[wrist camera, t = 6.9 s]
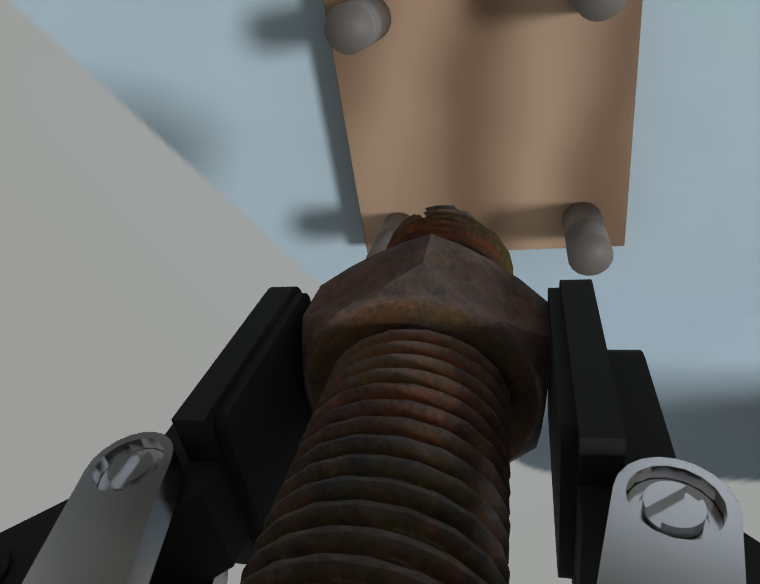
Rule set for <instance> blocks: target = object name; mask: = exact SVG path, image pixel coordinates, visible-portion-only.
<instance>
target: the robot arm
mask: <svg viewBox="0 0 760 584" xmlns="http://www.w3.org/2000/svg"><path fill="white" fill-rule="evenodd" d="M310 303H311V301H310V297H309V295H308V294H307V293H302V292H301V290H300V289H299V288H298V287H271V288H269V289H268V290H267V292H266V293H265V294H264V296H263V297H262V298H261V300H260V301H259V303H258V304H257V305H256V307H255V308H254V309H253V311H252V312H251V313H250V315H249V316H248V317H247V319H246V320H245V321H244V323H243V324H242V325H241V327H240V328H239V329H238V331H237V332H236V333H235V335H234V336H233V337H232V339H231V340H230V341H229V343H228V344H227V345H226V347H225V348H224V349H223V351H222V352H221V354H220V355H219V356H218V358H217V359H216V360H215V362H214V363H213V364H212V366H211V367H210V368H209V370H208V371H207V372H206V374H205V375H204V376H203V378H202V379H201V380H200V382H199V383H198V384H197V386H196V387H195V388H194V390H193V391H192V392H191V394H190V395H189V397H188V398H187V399H186V400H185V402H184V403H183V405H182V406H181V407H180V409H179V410H178V411H177V413H176V414H175V415H174V417H173V418H172V422H173V425H172V426H171V427H170V429H169V430H168V431H167V433H166V434H161V433H157V432H142V433H138V434H133V435H130V436H127V437H125V438H123V439H120V440H118V441H116V442H114V443H113V444H111V445H110V446H108V447H106V448H105V449H103V450H102V451H101V452H100V453H99V454H98V455H97V456H96V457H95V458H93V460H92V461H91V462H90V464H89V465H88V467H87V468H86V469H85V471H84V473H83V474H82V476H81V478H80V480H79V482H78V483H77V485H76V487H75V489H74V491H73V492H72V494H71V496H70V498H69V499H67V500H65V501H64V502H61V503H59V504H57V505H55V506H53V507H51V508H49V509H47V510H45V511H43V512H41V513H39V514H37V515H36V516H33V517H31V518H30V519H27V520H25V521H23V522H21V523H19V524H17V525H15V526H13V527H11V528H9V529H7V530H5V531H3V532H1V533H0V584H227V580H228V569H230V568H232V567H233V566H234V564H235V563H239V564H247V563H248V562H249V561H250V559H251V558H252V555H253V549H254V544H255V542H256V539H257V537H258V536H259V535H260V534H261V533H263V528H264V522H265V519H266V517H267V515H268V514H269V512H270V511H271V509H272V506H273V502H274V500H275V498H276V497H277V495H278V493H279V491H280V489H281V486H282V484H283V482H284V480H285V478H286V476H287V474H288V471H289V468H290V466H291V464H292V462H293V460H294V458H295V456H296V454H297V451H298V446H299V444H300V441H301V438H302V436H303V435H304V433H305V432H306V427H307V424H308V423H309V421H310V420H311V417H312V413H313V412H312V410H311V408H310V406H309V403H308V399H307V395H306V391H305V386H304V380H303V363H302V324H303V315H304V313H305V312H306V310H307V308H308V307H309V305H310ZM548 312H549V325H550V337H551V362H550V374H549V382H548V421H549V438H550V454H551V471H552V487H553V503H554V519H555V520H554V521H555V537H556V553H557V568H558V577H560V578H570V579H572V584H760V543H759V542H758V541H756V540H755V539H753V538H752V537H750V536H748V535H747V534H746V533H744V532H743V518H742V513H741V510H740V506H739V502H738V500H737V499H736V497H735V496H734V495H733V493H732V492H731V490H730V489H729V487H728V486H727V485H725V484H724V483H723V482H722V481H721V480H720V479H718V478H717V477H716V476H715V475H714V474H712V473H710V472H708V471H707V470H705V469H703V468H701V467H699V466H697V465H695V464H692V463H689V462H686V461H682V460H679V459H676V456H675V453H674V450H673V447H672V443H671V440H670V437H669V434H668V431H667V427H666V424H665V421H664V418H663V414H662V411H661V408H660V405H659V401H658V398H657V395H656V392H655V388H654V385H653V382H652V379H651V375H650V372H649V369H648V366H647V362H646V359H645V356H644V354H643V352H642V351H641V350H607V347H606V343H605V338H604V333H603V329H602V324H601V320H600V315H599V311H598V306H597V301H596V297H595V292H594V288H593V283H592V280H591V279H586V280H560V284H559V288H548Z"/></svg>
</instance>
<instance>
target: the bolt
mask: <svg viewBox="0 0 760 584" xmlns="http://www.w3.org/2000/svg"><path fill="white" fill-rule="evenodd" d="M425 209H426V211H427V212H424V214H425V216H426V217H424V218H423V217H422V216H421V215H419V214H418V215H415V214H413V215H411V216H409V217H408V218H406V219H404V220H403V221H402V223H401V224H400V225H399V226H398V227H397V229H396V230H395V231H394V233H393V235H392V237H391V239H390V241H389V243H388V245H387V248H386V250H384V251H381V252H379V253H376V254H375V255H373V256H371V257H369V258H367V259H365V260H363V261H361V262H359V263H357V264H356V265H354V266H352V267H350V268H348V269H347V270H345V271H343V272H342V273H340V274H339V275H337V276H335V277H334V278H332V279H331V280H329V281H328V282H326V283H324V284H323V285H321V286H320V288H319V290H318V291H317V293H316V295H315V297H314V298H313V300H312V301H311V303H310V305H309V307H308V308H307V310H306V312H305V313H304V315H303V324H302V363H303V380H304V386H305V391H306V395H307V399H308V403H309V406H310V408H311V410H312V412H313V413H312V417H311V420H310V421H309V423H308V424H307V427H306V432H305V433H304V435H303V436H302V438H301V441H300V444H299V446H298V451H297V454H296V456H295V458H294V460H293V462H292V464H291V466H290V468H289V471H288V474H287V476H286V478H285V480H284V482H283V484H282V486H281V489H280V491H279V493H278V495H277V497H276V498H275V500H274V502H273V506H272V509H271V511H270V512H269V514H268V515H267V517H266V519H265V522H264V528H263V533H261V534H260V535H259V536H258V537H257V539H256V542H255V544H254V549H253V555H252V558H251V559H250V561H249V562H248V563H247V565H246V566H245V568H244V569H243V572H242V576H241V583H240V584H509V578H510V571H509V567H508V563H509V534H510V521H509V515H510V508H509V497H510V486H509V479H510V462H512V461H513V460H515V459H517V458H519V457H520V456H522V455H524V454H526V453H527V452H529V451H531V450H533V449H534V448H536V446H537V443H538V440H539V436H540V433H541V428H542V422H543V417H544V412H545V405H546V397H547V390H548V382H549V374H550V362H551V337H550V325H549V312H548V302H547V301H546V300H544V299H543V298H542V297H541V296H540V295H538V294H537V293H536V292H535V291H534V290H532V289H531V288H530V287H529V286H527V285H526V284H525V283H524V282H523V281H521V280H520V279H519V278H517V277H516V276H514V275H513V266H512V262H511V258H510V254H509V252H508V250H507V249H506V247H505V246H504V244H503V243H502V241H501V240H500V238H499V237H498V236H497V234H495V233H494V232H493V231H491V230H490V229H488V228H487V227H485V226H484V225H483V224H481V223H480V222H478V221H477V220H476V219H475V218H474V217H473V216H472V215H471V214H470V213H469V212H468V211H463V210H458V209H457V208H456V207H455V206H454V205H436V206H432V207H427V208H425Z"/></svg>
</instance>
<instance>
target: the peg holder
mask: <svg viewBox="0 0 760 584" xmlns="http://www.w3.org/2000/svg"><path fill="white" fill-rule="evenodd" d="M324 5H325V11H326V20H325V35H326V38H327V40H328V42H329V44H330V45H331V46H332V51H333V57H334V63H335V69H336V74H337V80H338V86H339V92H340V97H341V103H342V109H343V115H344V120H345V126H346V132H347V138H348V143H349V149H350V155H351V161H352V166H353V172H354V178H355V184H356V189H357V195H358V201H359V207H360V212H361V218H362V224H363V230H364V235H365V241H366V247H367V253H368V255H367V257H366V259H367V258H369V257H371V256H373V255H375V254H376V253H379V252H381V251H384V250H386V248H387V245H388V243H389V241H390V239H391V237H392V235H393V233H394V231H395V230H396V229H397V227H398V226H399V225H400V224H401V223H402V221H403V220H404V219H406V218H408V217H409V216H411V215H413V214H415V215H418V214H419V215H421V216H422V217H423V218H424V217H426V216H425V214H424V212H427V211H426V209H425V208H427V207H432V206H436V205H454V206H455V207H456V208H457V209H458V210H463V211H468V212H469V213H470V214H471V215H472V216H473V217H474V218H475V219H476V220H477V221H478V222H480V223H481V224H483V225H484V226H485V227H487V228H488V229H490V230H491V231H493V232H494V233H495V234H497V236H498V237H499V238H500V240H501V241H502V243H503V244H504V246H505V247H506V249H507V250H523V249H550V248H566V249H567V255H568V261H569V264H570V266H571V268H572V269H573V270H574V271H576V272H577V273H579V274H582V275H589V276H590V275H596V274H599V273H601V272H603V271H605V270H606V269H607V268H608V267H609V266H610V264H611V263H612V260H613V250H612V247H611V246H624V243H625V229H626V216H627V202H628V189H629V175H630V162H631V148H632V135H633V121H634V108H635V94H636V81H637V67H638V54H639V40H640V27H641V13H642V0H324Z"/></svg>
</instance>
